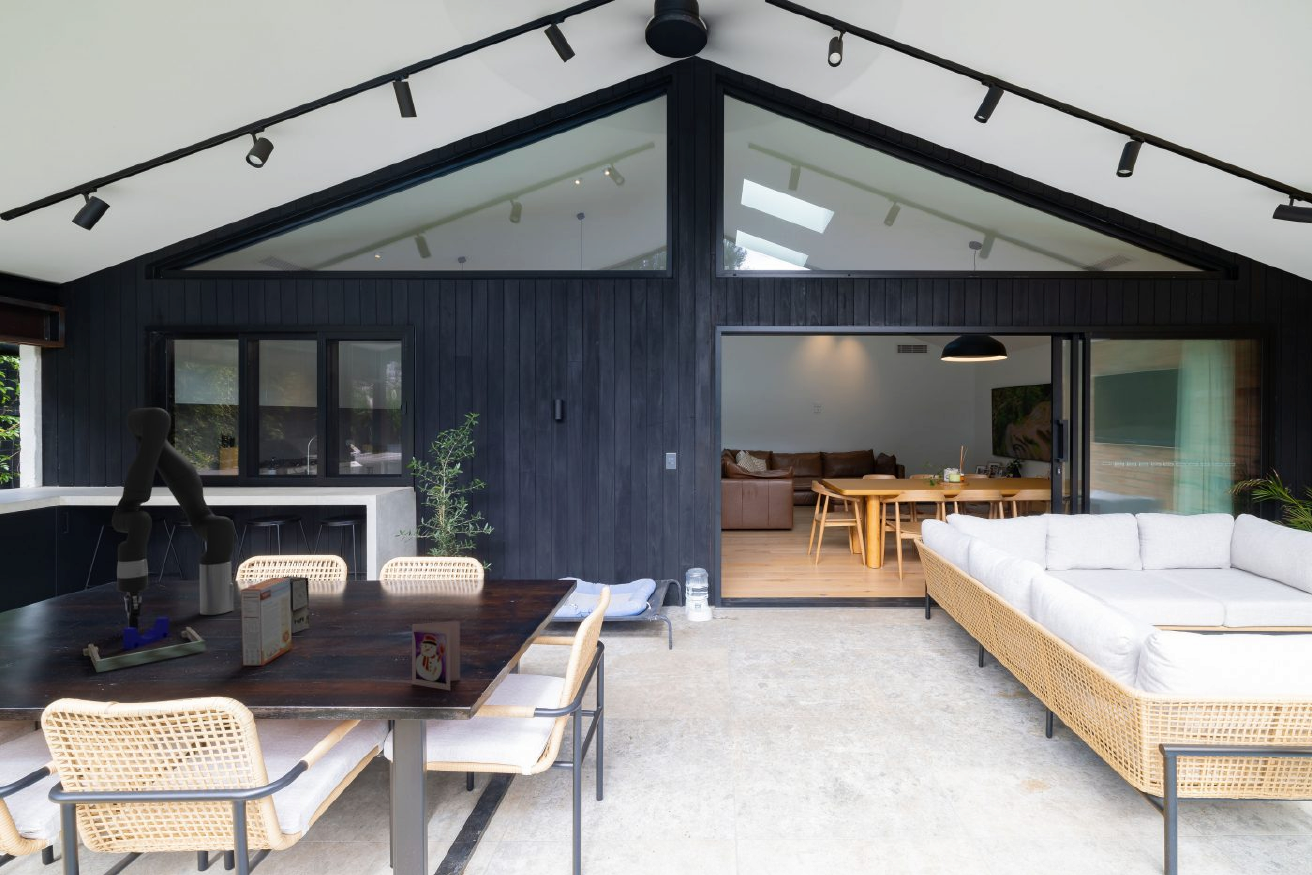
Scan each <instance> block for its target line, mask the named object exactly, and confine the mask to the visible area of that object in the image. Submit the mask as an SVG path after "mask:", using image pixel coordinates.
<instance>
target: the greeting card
mask: <svg viewBox="0 0 1312 875" xmlns="http://www.w3.org/2000/svg"><path fill="white" fill-rule="evenodd" d="M460 626H461V624H460V620H455V621H454V620H453V621H441V622H440V621H439V622H427V623H413V624H411V651H412V652H411V659H412V660H411V662H412V664H411V665H412V667H411V668H412V673H411V676H412V677H411V678H412V685H416V686H422V687H428V688H434V689H439V690H440V689H441V690H443V691H444V690H446V691H451V681H452V682H453V681H460V680H461V653H460V651H461V650H460V649H461V647H460V646H461V645H460V644H461V641H460V640H461V634H460V633H461V630H460V628H461V627H460Z"/></svg>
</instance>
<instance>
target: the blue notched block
mask: <svg viewBox="0 0 1312 875" xmlns="http://www.w3.org/2000/svg"><path fill="white" fill-rule="evenodd" d="M169 624H170V617H164V616H159V617H157V618H155V623H154V627H151V628H148V629H147V631H145V633H144V634H143V635H140V634H139V632H138V629H137V628H132V627H129V626H127V627H125V628H122V642H123V650H134V649H138V648H141V647H142V646H146V645H149V644H152V643H155V642H158V641H160V640H161V641H162V640H163V639H166V638H169V637H170V625H169ZM151 642H152V643H151Z"/></svg>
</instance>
